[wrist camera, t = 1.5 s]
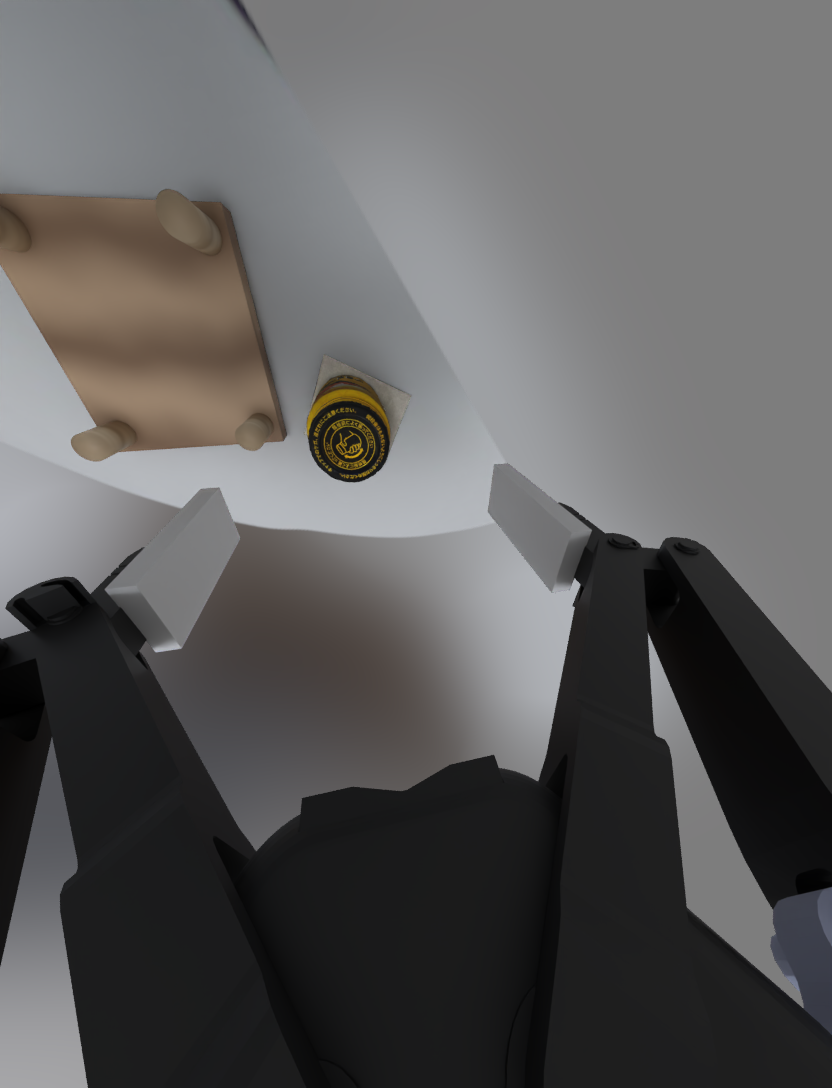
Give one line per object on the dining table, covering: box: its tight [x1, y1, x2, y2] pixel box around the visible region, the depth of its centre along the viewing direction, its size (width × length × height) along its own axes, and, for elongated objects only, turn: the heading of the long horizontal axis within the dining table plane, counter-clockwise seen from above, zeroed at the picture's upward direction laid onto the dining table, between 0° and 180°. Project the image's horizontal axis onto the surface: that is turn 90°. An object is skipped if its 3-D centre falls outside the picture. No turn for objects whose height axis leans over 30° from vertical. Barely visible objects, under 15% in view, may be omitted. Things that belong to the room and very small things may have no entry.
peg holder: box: [0, 189, 287, 461], centre depth 22 cm, size 15×14×6 cm
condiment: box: [304, 354, 411, 482], centre depth 25 cm, size 7×8×12 cm
